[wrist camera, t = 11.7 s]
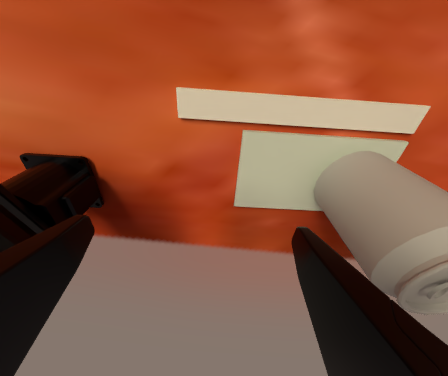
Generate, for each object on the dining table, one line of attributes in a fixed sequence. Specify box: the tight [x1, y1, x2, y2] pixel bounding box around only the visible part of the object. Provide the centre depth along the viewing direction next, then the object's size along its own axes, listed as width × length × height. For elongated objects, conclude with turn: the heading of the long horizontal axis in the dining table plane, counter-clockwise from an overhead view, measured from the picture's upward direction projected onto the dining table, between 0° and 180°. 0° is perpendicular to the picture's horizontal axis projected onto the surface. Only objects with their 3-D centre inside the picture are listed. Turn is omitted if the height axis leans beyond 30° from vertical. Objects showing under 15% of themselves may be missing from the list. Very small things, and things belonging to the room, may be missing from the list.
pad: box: [234, 130, 409, 211], centre depth 20 cm, size 16×9×1 cm, turn 86°
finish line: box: [176, 87, 431, 134], centre depth 17 cm, size 22×2×1 cm, turn 86°
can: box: [314, 151, 448, 315], centre depth 15 cm, size 8×8×12 cm
